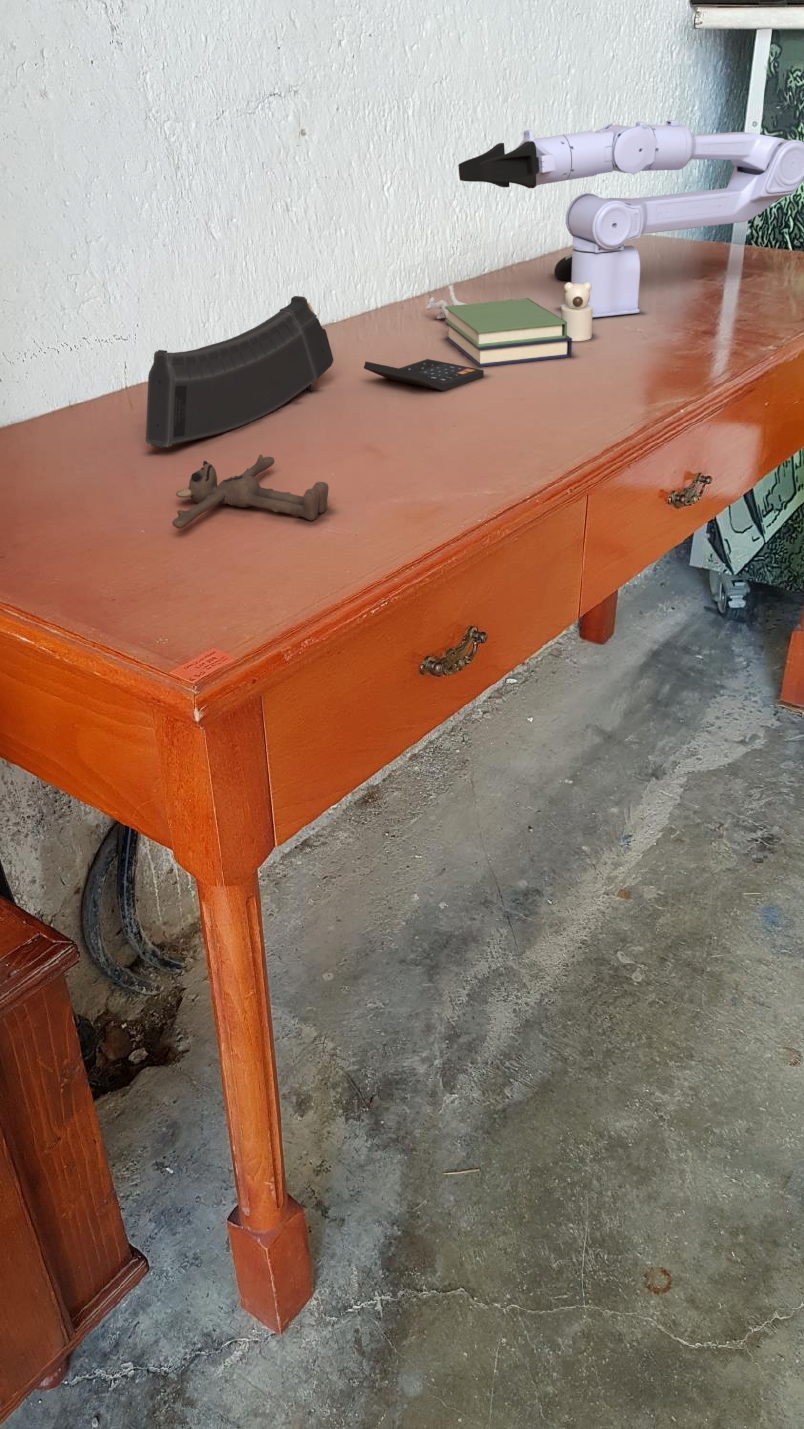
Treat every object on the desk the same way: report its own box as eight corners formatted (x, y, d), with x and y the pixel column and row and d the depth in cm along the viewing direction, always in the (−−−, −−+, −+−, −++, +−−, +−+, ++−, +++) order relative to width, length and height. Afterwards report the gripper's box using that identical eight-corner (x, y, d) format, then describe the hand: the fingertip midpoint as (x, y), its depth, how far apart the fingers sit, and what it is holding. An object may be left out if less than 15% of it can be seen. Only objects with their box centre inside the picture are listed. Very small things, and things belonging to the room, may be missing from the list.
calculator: (483, 377, 142) (483, 352, 141) (420, 399, 135) (420, 374, 134) (427, 365, 148) (426, 341, 146) (364, 386, 141) (363, 362, 139)
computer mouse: (630, 279, 187) (632, 253, 185) (557, 282, 188) (557, 256, 186) (623, 270, 194) (624, 245, 192) (552, 273, 194) (553, 248, 192)
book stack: (531, 330, 161) (531, 297, 159) (571, 357, 148) (572, 322, 146) (445, 339, 159) (444, 306, 157) (478, 367, 146) (478, 332, 144)
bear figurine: (274, 522, 97) (128, 488, 101) (275, 567, 99) (132, 533, 103) (361, 453, 111) (229, 426, 115) (360, 494, 113) (231, 467, 117)
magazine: (140, 379, 114) (303, 237, 130) (116, 376, 116) (281, 236, 131) (195, 517, 126) (339, 372, 142) (173, 512, 128) (317, 369, 143)
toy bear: (560, 334, 159) (562, 279, 155) (591, 333, 158) (593, 278, 155) (560, 341, 155) (562, 286, 151) (592, 341, 155) (594, 285, 151)
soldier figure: (458, 321, 172) (512, 306, 162) (446, 349, 171) (500, 335, 161) (422, 289, 167) (476, 271, 158) (410, 317, 166) (462, 301, 157)
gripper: (538, 127, 161) (448, 140, 158) (584, 123, 148) (487, 137, 145) (541, 181, 164) (453, 196, 161) (587, 183, 152) (492, 198, 149)
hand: (469, 172), depth 154 cm, fingers open, 7 cm apart
